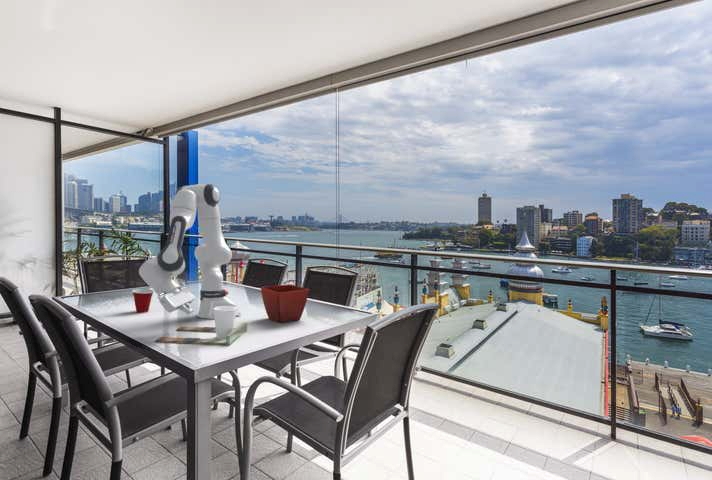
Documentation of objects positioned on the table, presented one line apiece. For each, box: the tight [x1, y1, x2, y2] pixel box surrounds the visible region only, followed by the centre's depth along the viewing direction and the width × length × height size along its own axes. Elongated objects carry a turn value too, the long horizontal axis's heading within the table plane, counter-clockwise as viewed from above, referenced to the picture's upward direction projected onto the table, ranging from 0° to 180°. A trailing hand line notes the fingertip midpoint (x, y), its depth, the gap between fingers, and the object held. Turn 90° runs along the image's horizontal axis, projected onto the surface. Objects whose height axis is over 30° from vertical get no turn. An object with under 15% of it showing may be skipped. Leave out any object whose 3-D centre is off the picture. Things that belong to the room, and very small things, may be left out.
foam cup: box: [214, 306, 236, 339], centre depth 165 cm, size 10×9×13 cm
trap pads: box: [182, 326, 216, 342], centre depth 166 cm, size 6×22×1 cm, turn 178°
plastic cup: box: [131, 288, 155, 314], centre depth 207 cm, size 11×11×12 cm
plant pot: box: [260, 284, 310, 324], centre depth 201 cm, size 19×19×17 cm
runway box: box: [154, 321, 248, 346], centre depth 166 cm, size 32×22×4 cm
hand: (190, 312), depth 166 cm, fingers closed
